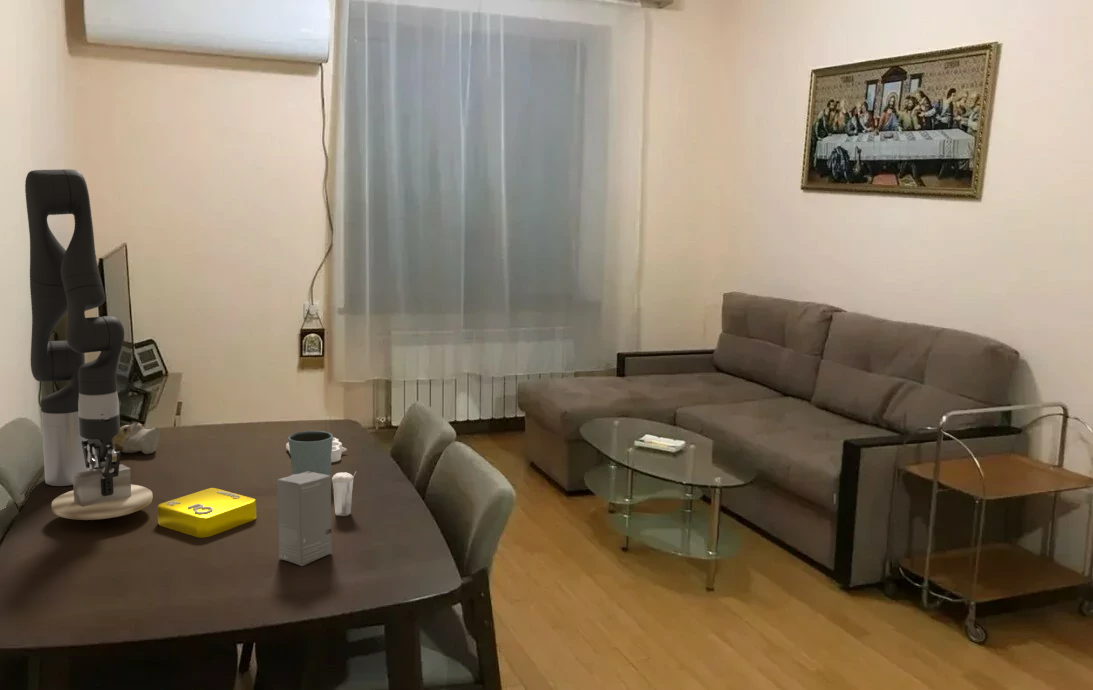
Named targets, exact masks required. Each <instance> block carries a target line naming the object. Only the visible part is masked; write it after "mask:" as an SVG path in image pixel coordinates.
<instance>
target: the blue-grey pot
mask: <svg viewBox="0 0 1093 690" xmlns="http://www.w3.org/2000/svg"><path fill="white" fill-rule="evenodd" d="M333 438H334V436H333V433H331V432H328V431H325V430H304V431H299V432H295V433H292V434H290V435H289V436H288V438H287V439H288V442H289V448H290V452H289V454H290V463H291V464H290V465H291V469H292V472H291V473H292V474H291V475H293V474H300V473H304V472H308V471H310V472H315V473H319V474H325V475H330V476H331V474H332V473H331V472H332V471H331V468H332V462H331V453H332V440H333ZM331 477H332V476H331Z"/></svg>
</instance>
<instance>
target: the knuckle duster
mask: <svg viewBox="0 0 1093 690" xmlns="http://www.w3.org/2000/svg"><path fill="white" fill-rule="evenodd" d="M285 448H286V450H288V452H289V453H290V448H289V441H288V442H287V443H286V444H285ZM347 450H348V449H347V448H346V447H343V443H342V442H340V439H339V438H336V437H333V440H332V453H331V463H335V462H336V463H337V462H339V461H341V460H342V455H343V453H344V452H346V451H347Z"/></svg>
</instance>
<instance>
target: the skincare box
mask: <svg viewBox="0 0 1093 690" xmlns="http://www.w3.org/2000/svg"><path fill="white" fill-rule="evenodd" d="M331 483H332V476H330V475H325V474H319V473H315V472H310V471H308V472H304V473H300V474H291V475H289V476H285V477H280V478H278V479H277V480H276V487H277V493H276V494H277V522H278V524H277V527H278V532H277V533H278V558H279V560H283V561H286V562H289V563H292V564H296V565H297V566H301V567H303V566H306V565H308V564H310V563H312V562H314V561H318V560H319V559H321V558H324V557H326V556H329V555H331V554H332V553H333V548H332V545H333V544H332V543H333V541H332V540H333V539H332V537H333V536H332V532H333V531H332V485H331Z"/></svg>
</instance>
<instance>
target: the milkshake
mask: <svg viewBox="0 0 1093 690" xmlns="http://www.w3.org/2000/svg"><path fill="white" fill-rule="evenodd" d="M356 473H357V470H355V472H354V474H353V475H352V474H351V473H349V472H346V471H345V472H336V473H335V474H333V476H331V483H332V490H333V491H332V492H333V502H334V503H333V504H334V513H335V516H337V517H347V516H350V515H351V511H352V499H353V498H352V497H353V487H354V477H355V475H356Z"/></svg>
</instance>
